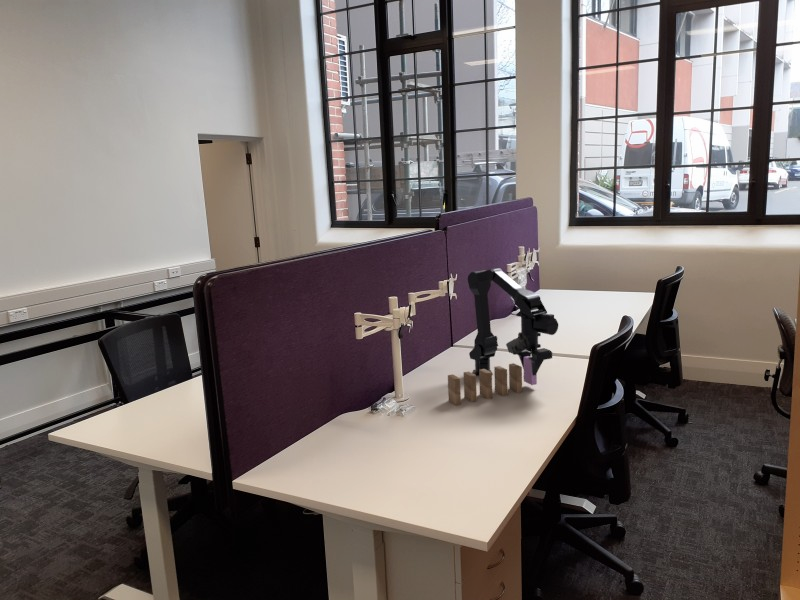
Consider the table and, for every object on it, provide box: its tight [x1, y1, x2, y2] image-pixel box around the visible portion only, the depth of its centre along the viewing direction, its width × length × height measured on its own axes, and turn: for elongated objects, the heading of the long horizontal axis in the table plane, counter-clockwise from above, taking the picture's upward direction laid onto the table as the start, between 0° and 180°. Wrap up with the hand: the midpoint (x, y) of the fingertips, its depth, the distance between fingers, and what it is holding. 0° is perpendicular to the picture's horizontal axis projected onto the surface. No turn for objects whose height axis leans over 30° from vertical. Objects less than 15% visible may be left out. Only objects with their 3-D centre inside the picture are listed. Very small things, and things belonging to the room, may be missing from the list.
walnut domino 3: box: [478, 369, 493, 400], centre depth 208 cm, size 2×5×9 cm, turn 23°
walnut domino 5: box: [508, 362, 523, 394], centre depth 213 cm, size 2×5×9 cm, turn 23°
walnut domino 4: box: [493, 365, 508, 397], centre depth 210 cm, size 2×5×9 cm, turn 23°
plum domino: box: [523, 356, 538, 386], centre depth 215 cm, size 2×5×9 cm, turn 23°
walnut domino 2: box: [463, 371, 478, 403], centre depth 206 cm, size 2×5×9 cm, turn 23°
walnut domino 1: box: [447, 374, 462, 406], centre depth 204 cm, size 2×5×9 cm, turn 23°
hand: (529, 373), depth 215 cm, fingers closed on plum domino, 5 cm apart
